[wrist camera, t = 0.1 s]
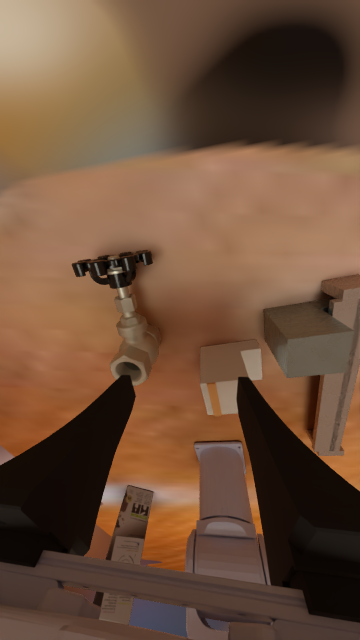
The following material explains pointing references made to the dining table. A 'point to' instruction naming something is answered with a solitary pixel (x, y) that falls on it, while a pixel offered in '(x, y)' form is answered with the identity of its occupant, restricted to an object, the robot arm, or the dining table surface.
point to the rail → (321, 353)
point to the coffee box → (126, 550)
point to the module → (227, 373)
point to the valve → (126, 313)
